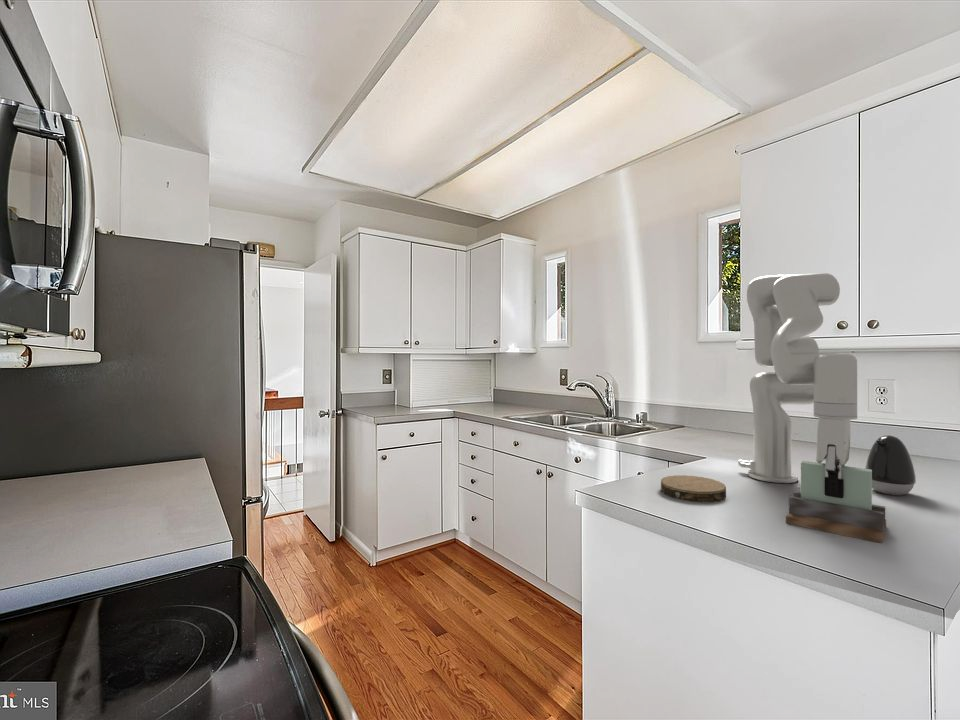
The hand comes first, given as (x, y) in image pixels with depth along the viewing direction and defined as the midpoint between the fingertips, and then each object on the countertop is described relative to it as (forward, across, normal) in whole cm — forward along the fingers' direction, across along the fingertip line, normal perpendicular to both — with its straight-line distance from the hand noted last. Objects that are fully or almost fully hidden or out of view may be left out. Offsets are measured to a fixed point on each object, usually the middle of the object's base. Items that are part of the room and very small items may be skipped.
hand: (835, 494), depth 100 cm
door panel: (+4, 0, 0) cm, 4 cm away
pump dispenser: (+7, -38, +7) cm, 39 cm away
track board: (+7, 0, 0) cm, 7 cm away
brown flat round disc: (+7, -3, -31) cm, 32 cm away
